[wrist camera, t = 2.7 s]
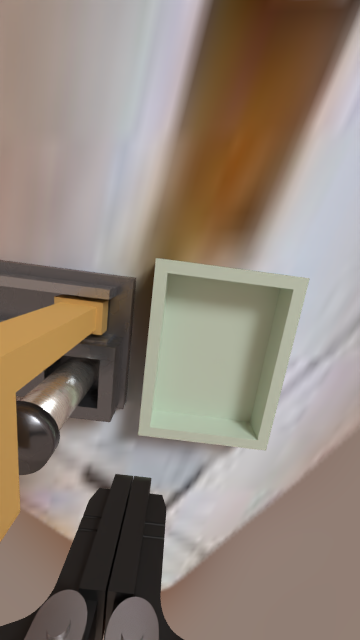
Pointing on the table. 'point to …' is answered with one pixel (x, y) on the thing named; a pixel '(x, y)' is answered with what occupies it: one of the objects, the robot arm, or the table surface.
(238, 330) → the tray
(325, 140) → the table surface
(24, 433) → the pin
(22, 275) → the hitch
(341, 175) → the table surface
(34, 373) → the bracket
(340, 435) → the table surface
